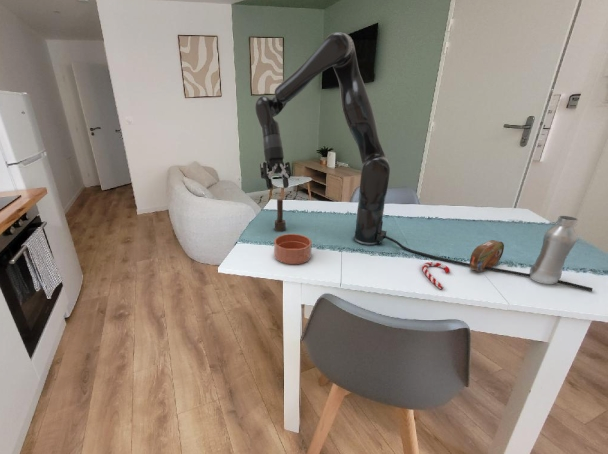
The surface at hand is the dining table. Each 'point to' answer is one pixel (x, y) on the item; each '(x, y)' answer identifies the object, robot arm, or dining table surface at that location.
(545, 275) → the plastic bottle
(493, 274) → the dining table surface
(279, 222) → the pestle
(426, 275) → the candy cane
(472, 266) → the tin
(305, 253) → the bowl
